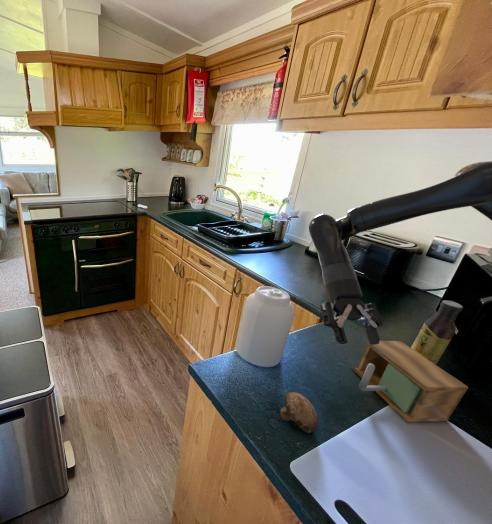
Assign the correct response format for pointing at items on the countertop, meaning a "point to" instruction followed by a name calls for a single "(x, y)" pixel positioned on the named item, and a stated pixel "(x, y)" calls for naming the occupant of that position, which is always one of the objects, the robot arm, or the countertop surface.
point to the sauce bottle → (437, 332)
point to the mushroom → (299, 412)
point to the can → (265, 326)
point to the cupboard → (415, 380)
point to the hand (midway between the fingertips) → (359, 343)
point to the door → (392, 386)
